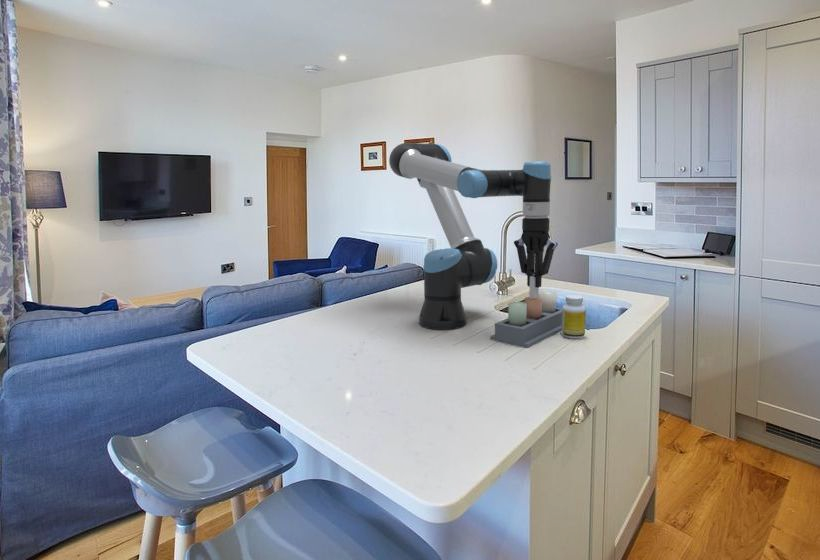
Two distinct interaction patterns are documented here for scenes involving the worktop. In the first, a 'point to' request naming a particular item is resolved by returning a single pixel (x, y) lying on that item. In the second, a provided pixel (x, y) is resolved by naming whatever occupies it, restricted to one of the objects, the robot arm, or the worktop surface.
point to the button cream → (548, 301)
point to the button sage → (517, 313)
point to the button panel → (529, 330)
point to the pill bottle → (573, 317)
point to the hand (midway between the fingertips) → (533, 297)
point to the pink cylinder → (534, 308)
